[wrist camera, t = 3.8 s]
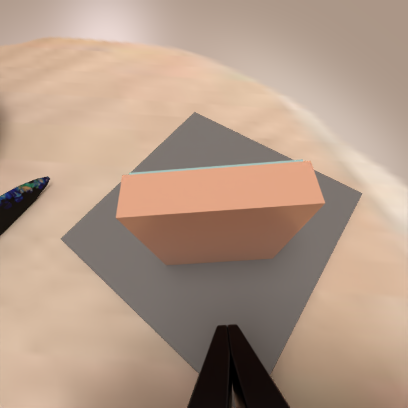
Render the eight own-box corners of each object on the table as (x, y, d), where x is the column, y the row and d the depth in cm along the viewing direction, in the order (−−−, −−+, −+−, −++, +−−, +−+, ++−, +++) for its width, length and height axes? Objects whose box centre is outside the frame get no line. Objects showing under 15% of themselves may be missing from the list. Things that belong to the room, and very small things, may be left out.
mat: (358, 196, 19) (362, 193, 18) (245, 416, 13) (246, 420, 12) (195, 115, 24) (194, 112, 24) (64, 240, 18) (60, 238, 18)
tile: (272, 258, 16) (325, 203, 8) (166, 265, 16) (115, 217, 8) (267, 230, 17) (309, 156, 9) (167, 236, 17) (122, 170, 9)
